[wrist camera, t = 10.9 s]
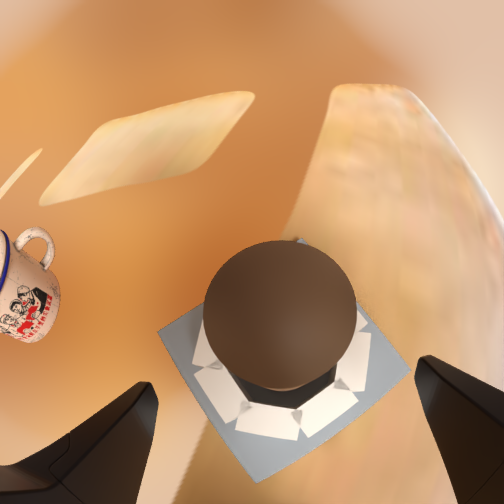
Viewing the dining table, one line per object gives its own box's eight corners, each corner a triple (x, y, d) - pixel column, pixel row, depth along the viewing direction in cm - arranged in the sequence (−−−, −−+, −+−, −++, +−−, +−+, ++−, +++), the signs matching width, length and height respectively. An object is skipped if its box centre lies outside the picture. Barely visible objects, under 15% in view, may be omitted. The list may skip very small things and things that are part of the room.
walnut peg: (311, 396, 19) (346, 397, 8) (241, 384, 20) (186, 369, 9) (322, 329, 21) (361, 250, 10) (255, 319, 22) (223, 232, 11)
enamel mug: (28, 363, 22) (-58, 330, 12) (4, 305, 26) (-65, 263, 16) (94, 283, 26) (15, 219, 16) (61, 235, 29) (-1, 173, 19)
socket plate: (257, 480, 17) (251, 496, 13) (162, 334, 23) (141, 322, 20) (406, 371, 20) (428, 365, 16) (301, 243, 26) (303, 217, 22)
